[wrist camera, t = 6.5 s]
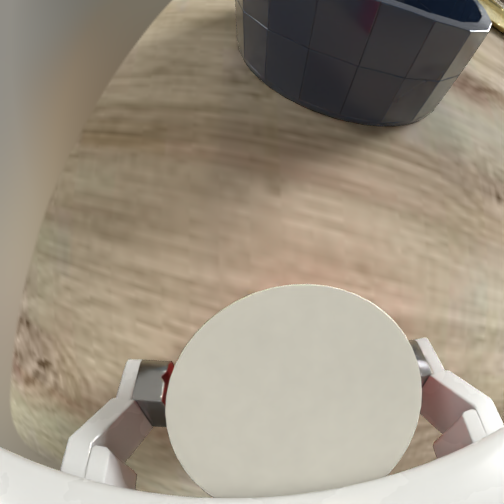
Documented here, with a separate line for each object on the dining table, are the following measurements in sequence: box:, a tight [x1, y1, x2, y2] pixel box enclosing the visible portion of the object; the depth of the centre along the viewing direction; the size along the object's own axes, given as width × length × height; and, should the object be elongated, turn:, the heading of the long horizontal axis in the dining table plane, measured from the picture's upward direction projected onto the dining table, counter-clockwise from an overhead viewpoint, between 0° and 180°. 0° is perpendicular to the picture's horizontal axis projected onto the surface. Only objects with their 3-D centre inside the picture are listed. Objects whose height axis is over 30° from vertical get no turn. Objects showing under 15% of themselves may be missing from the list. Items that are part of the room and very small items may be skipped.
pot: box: [235, 0, 492, 126], centre depth 14 cm, size 17×17×9 cm
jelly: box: [165, 284, 422, 498], centre depth 10 cm, size 6×6×8 cm
